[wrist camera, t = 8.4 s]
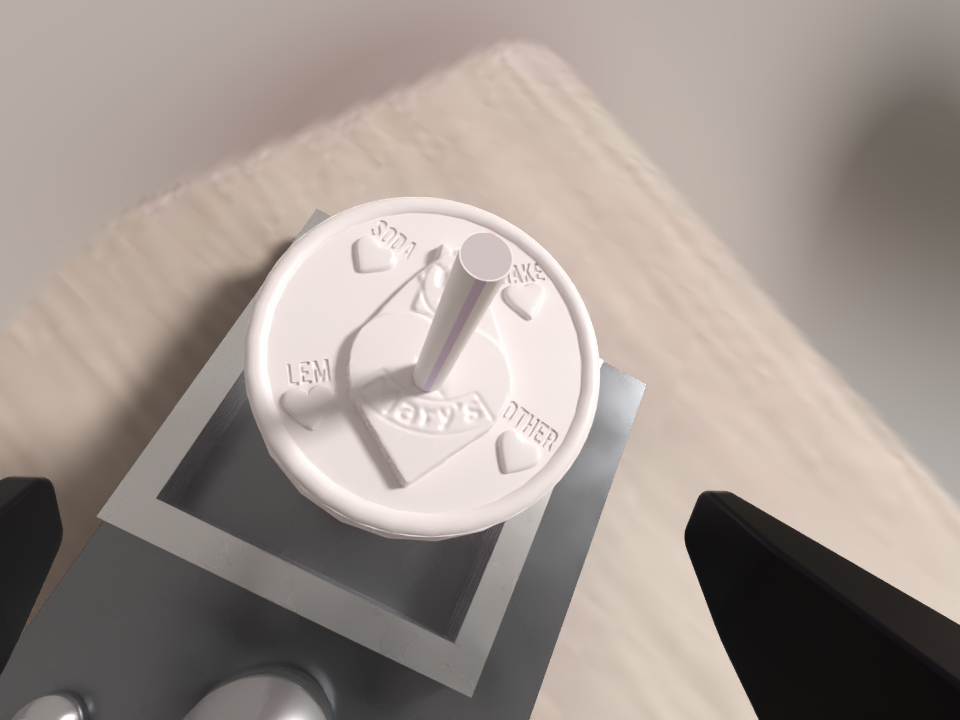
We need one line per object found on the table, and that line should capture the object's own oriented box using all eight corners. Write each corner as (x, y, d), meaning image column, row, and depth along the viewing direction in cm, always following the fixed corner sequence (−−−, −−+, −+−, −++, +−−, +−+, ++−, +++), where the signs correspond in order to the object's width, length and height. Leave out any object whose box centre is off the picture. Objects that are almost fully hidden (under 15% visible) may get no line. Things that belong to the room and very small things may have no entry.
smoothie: (267, 520, 17) (1, 444, 4) (325, 332, 19) (275, -104, 6) (467, 560, 18) (774, 603, 5) (500, 376, 20) (772, 76, 7)
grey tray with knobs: (421, 966, 16) (440, 1075, 12) (-40, 757, 15) (-149, 816, 12) (628, 394, 23) (673, 369, 20) (323, 234, 22) (318, 180, 19)
